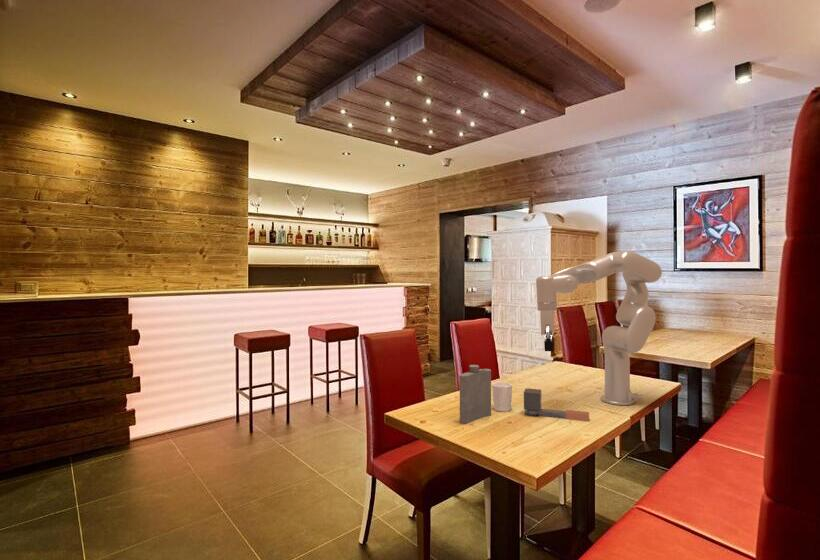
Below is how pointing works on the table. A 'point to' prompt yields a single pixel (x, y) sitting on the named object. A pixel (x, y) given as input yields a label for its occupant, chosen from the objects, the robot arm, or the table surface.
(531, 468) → the table surface
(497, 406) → the peach tapered cup
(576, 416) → the ratchet
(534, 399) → the two-tone cube
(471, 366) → the hip flask
